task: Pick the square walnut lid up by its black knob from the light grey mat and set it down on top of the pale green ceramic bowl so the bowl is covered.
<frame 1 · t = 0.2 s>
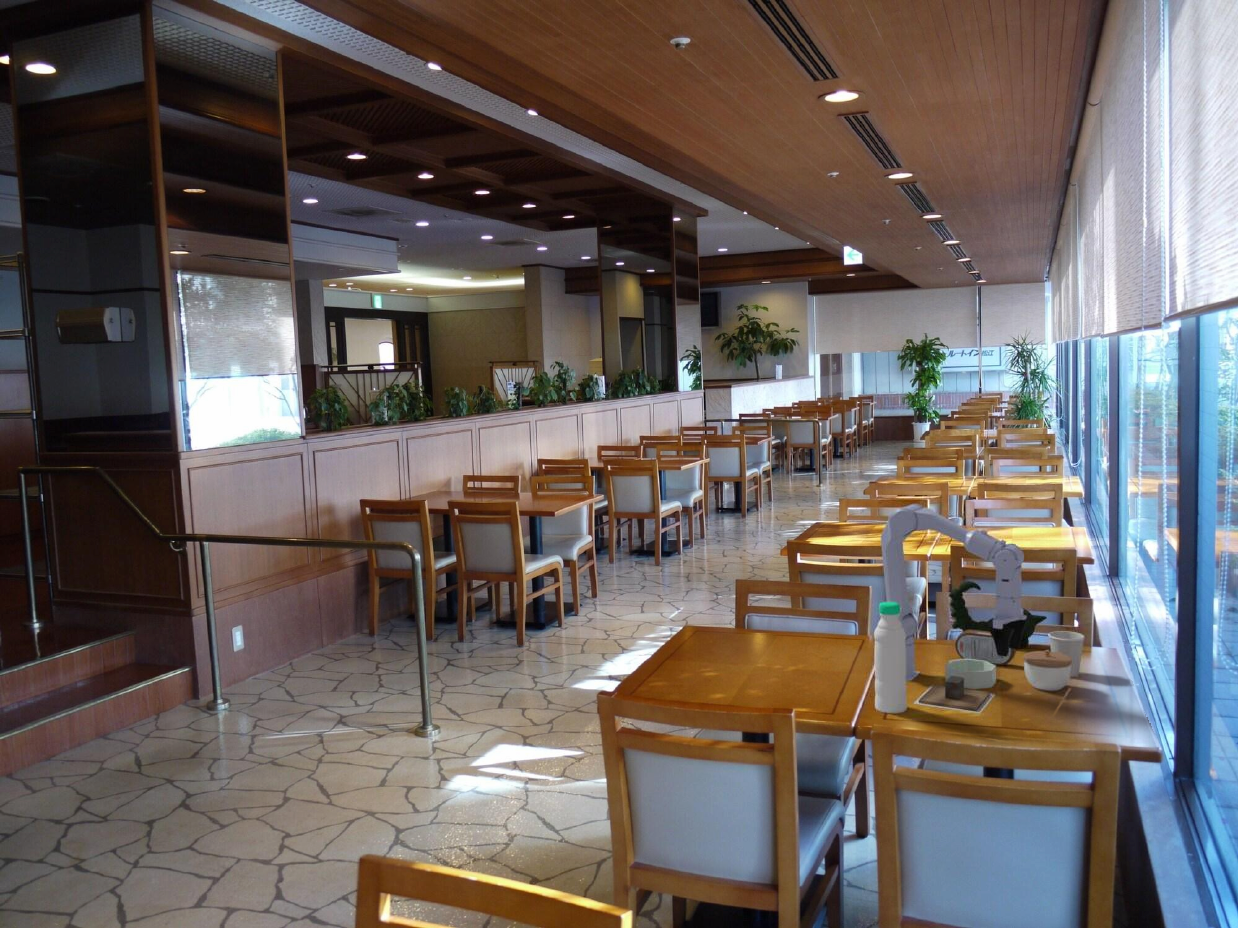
hand: (1008, 651, 235), 10 cm above the table, tool pointing down, fingers open, 7 cm apart
lidded jar: (1047, 689, 238), on the table
tin: (984, 663, 261), on the table
toy figurine: (997, 645, 277), on the table
dixie cup: (1066, 674, 249), on the table
water bottle: (890, 710, 227), on the table
mat: (954, 700, 232), on the table
bowl: (970, 682, 244), on the table
lid: (954, 698, 232), resting on mat
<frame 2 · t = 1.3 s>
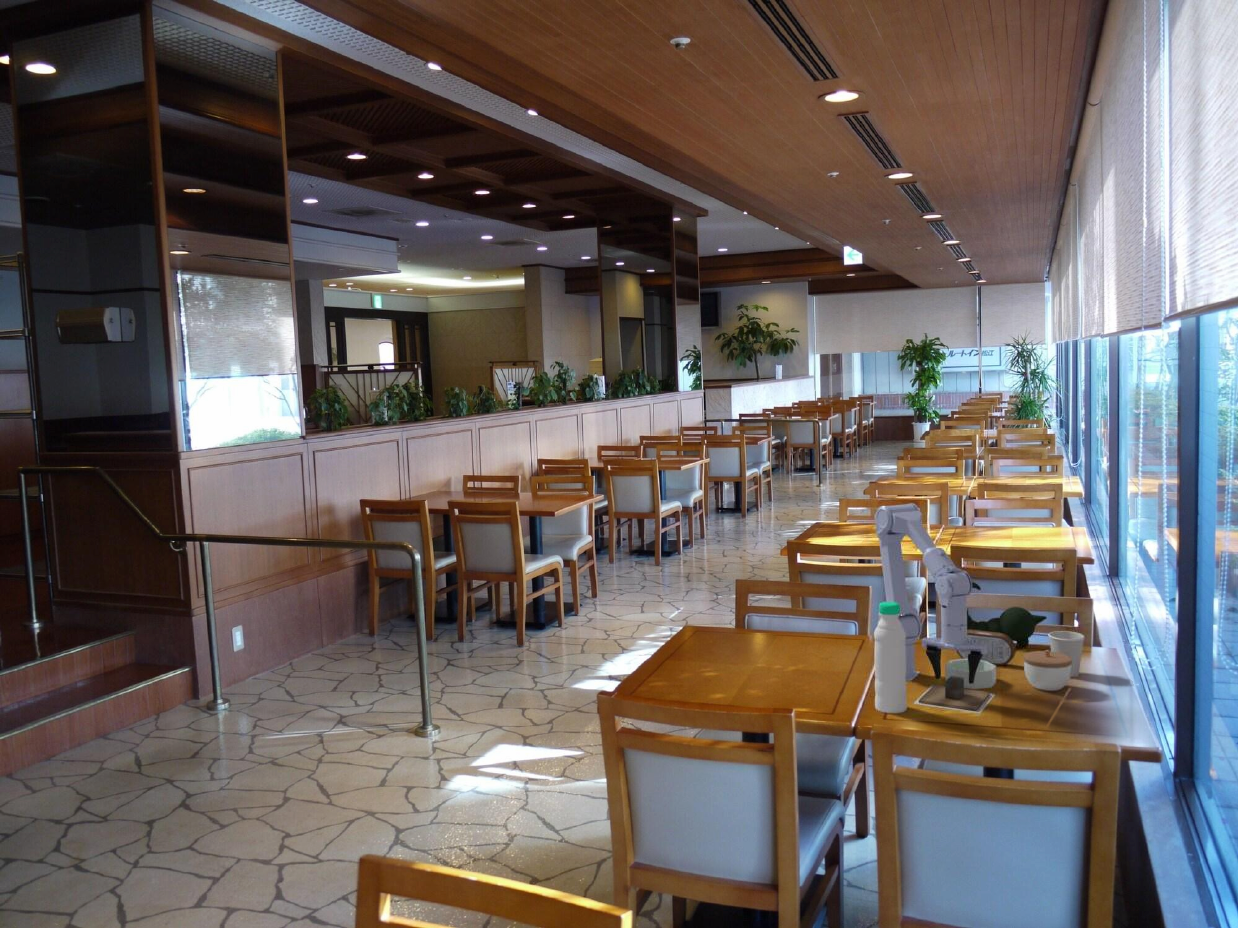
hand: (954, 680, 231), 5 cm above the table, tool pointing down, fingers open, 7 cm apart
nothing on the table moved.
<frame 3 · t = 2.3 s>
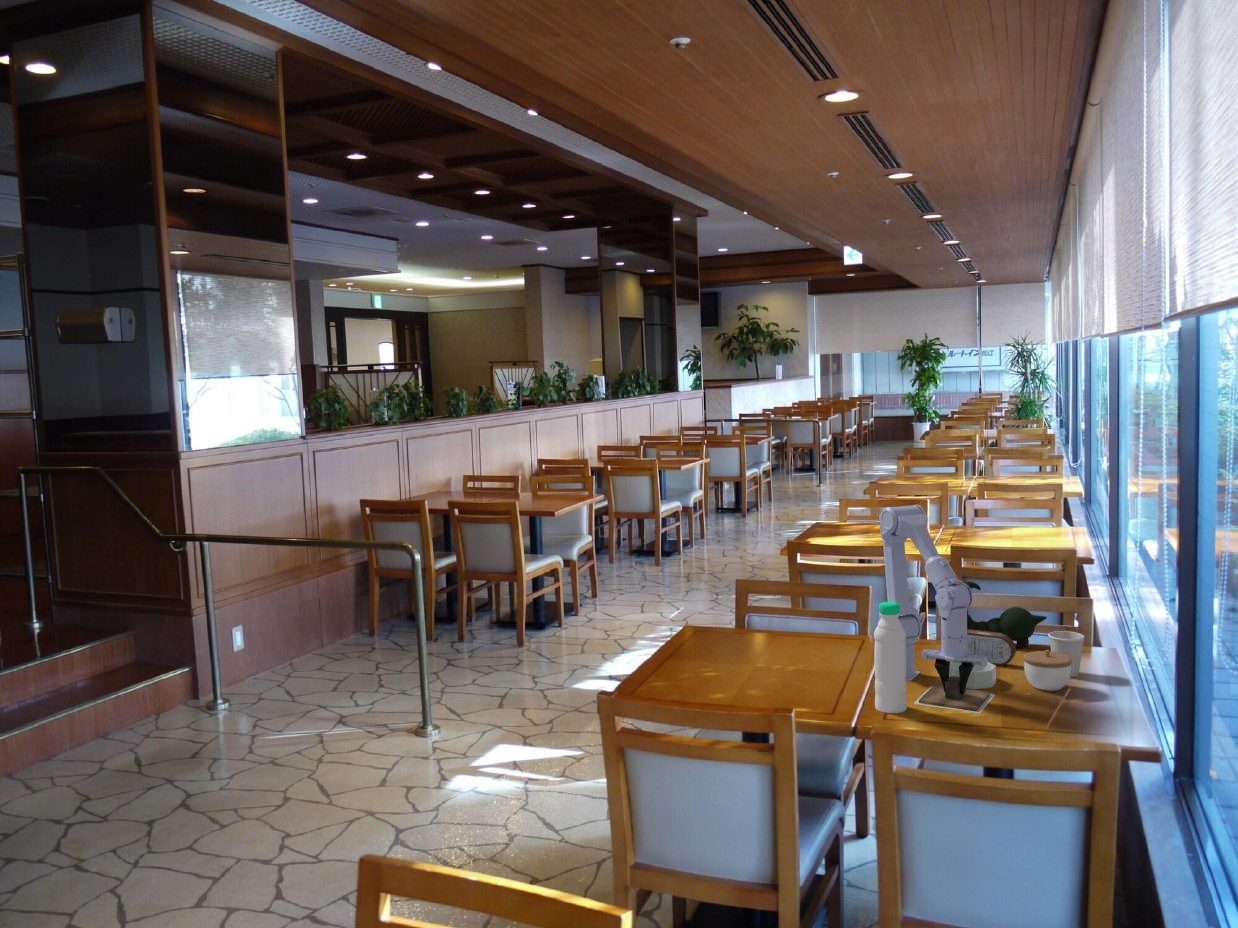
hand: (954, 692, 232), 2 cm above the table, tool pointing down, fingers closed on lid, 3 cm apart
lid: (954, 698, 232), resting on mat, touching gripper
everything else where it was.
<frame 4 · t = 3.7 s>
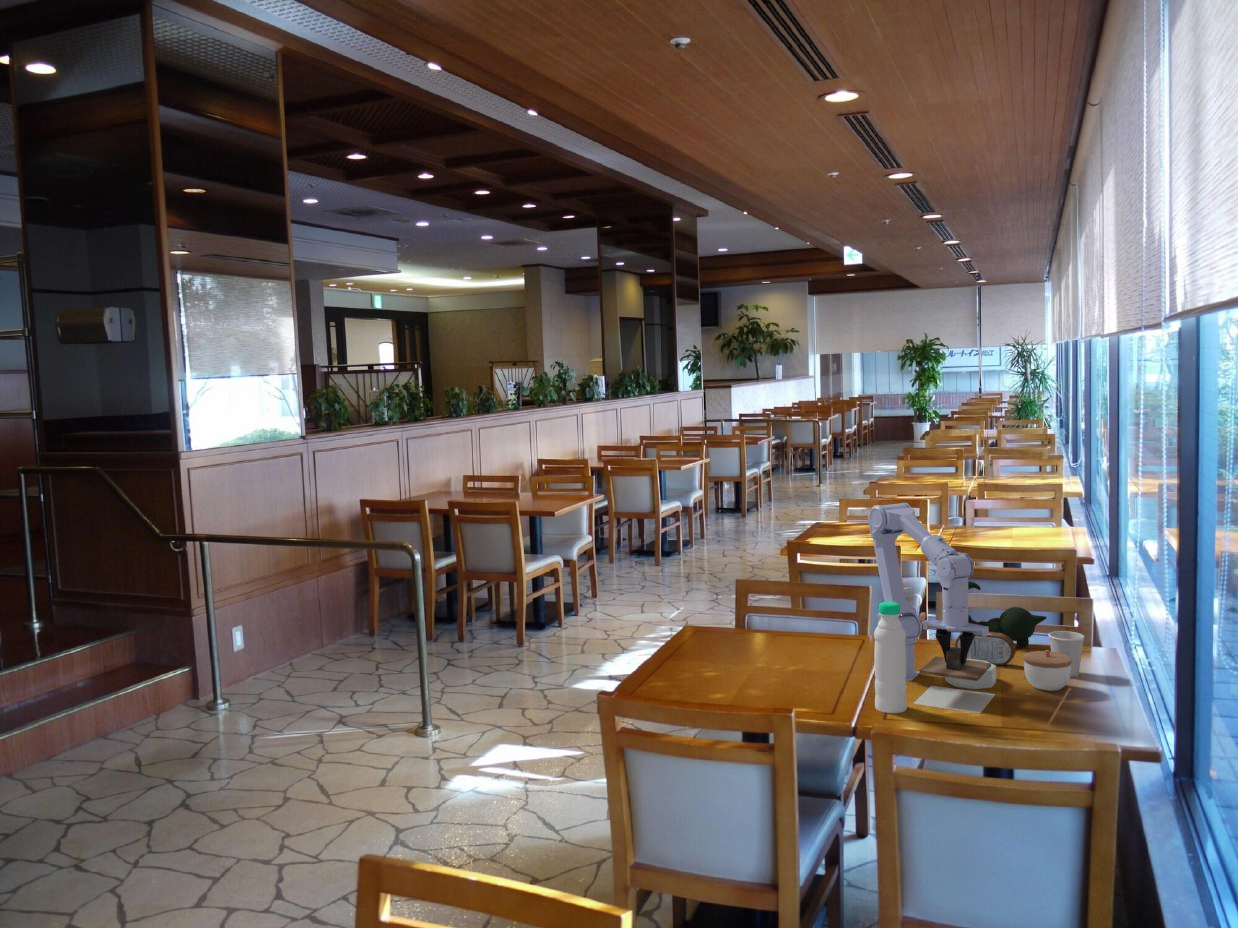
hand: (955, 662, 232), 9 cm above the table, tool pointing down, fingers closed on lid, 3 cm apart
lid: (955, 669, 232), point 7 cm above the table, touching gripper
everything else where it was.
when the fingers open (7 cm above the table, at t = 5.4 s): lid stays where it is, resting on bowl.
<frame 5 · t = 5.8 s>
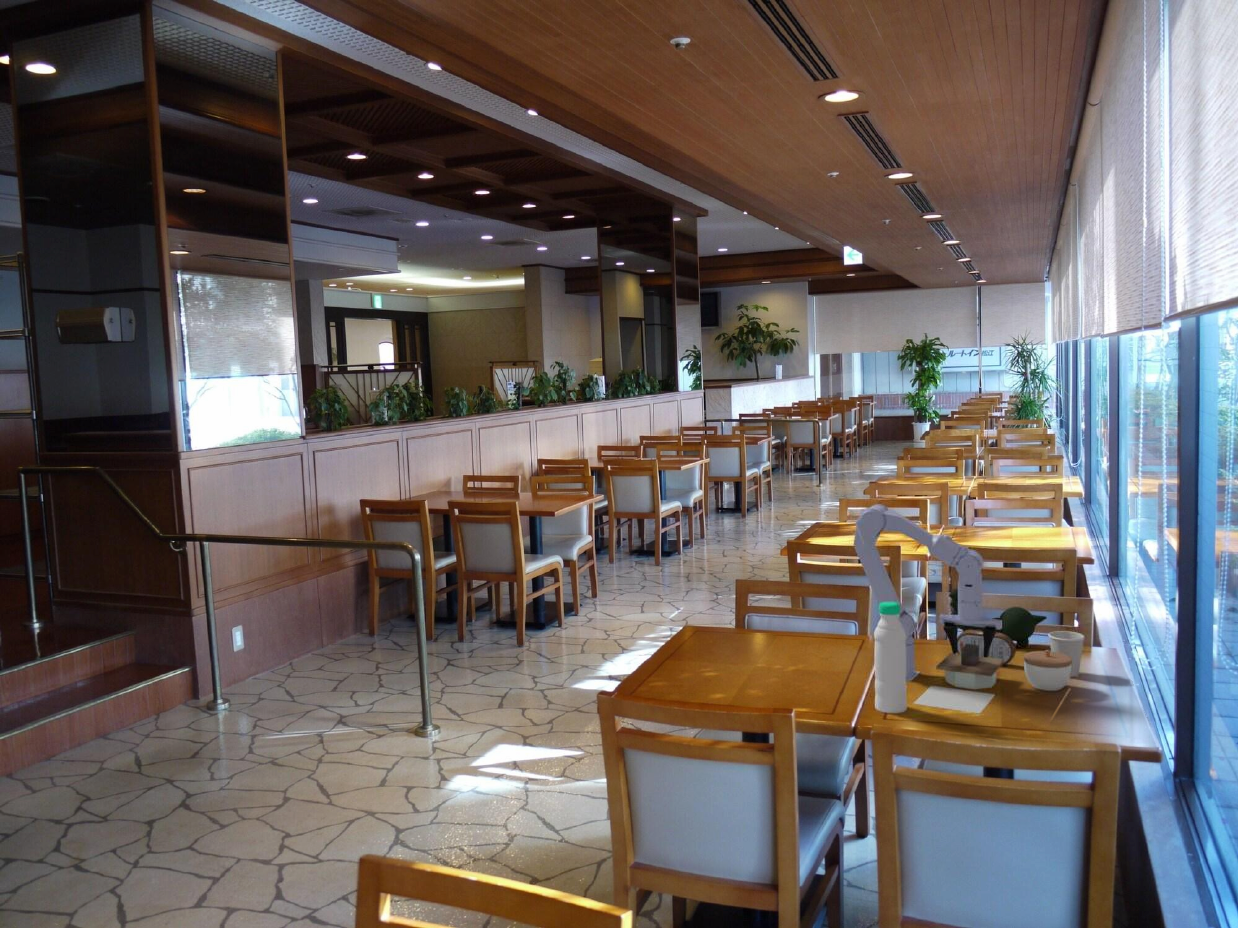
hand: (970, 654, 244), 7 cm above the table, tool pointing down, fingers open, 7 cm apart
bowl: (970, 682, 244), on the table, touching lid
lid: (970, 665, 244), point 4 cm above the table, touching bowl
everything else where it was.
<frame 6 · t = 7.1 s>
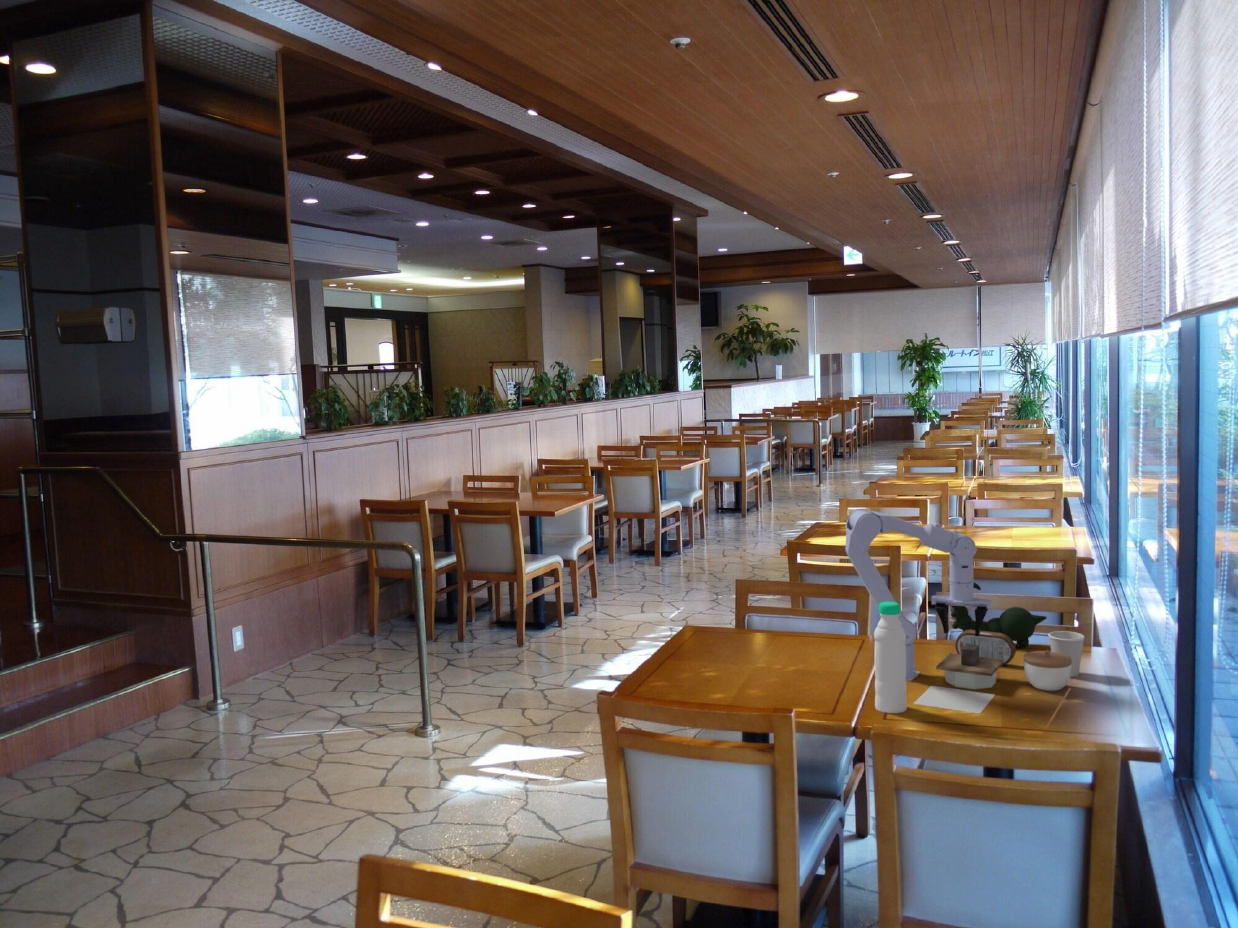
hand: (961, 633, 251), 10 cm above the table, tool pointing down, fingers open, 7 cm apart
nothing on the table moved.
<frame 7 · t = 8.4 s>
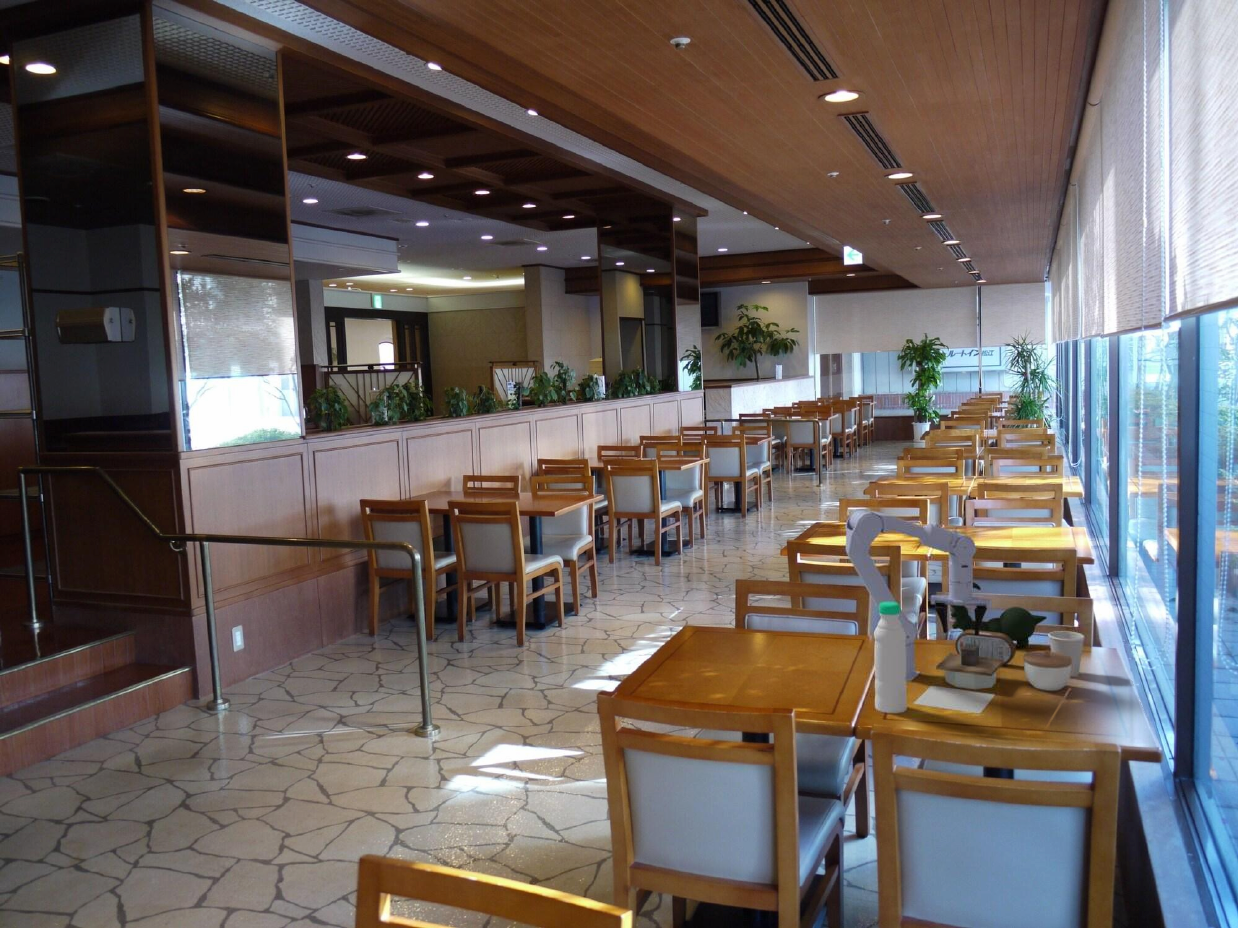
hand: (961, 633, 252), 10 cm above the table, tool pointing down, fingers open, 7 cm apart
nothing on the table moved.
at the end: lid 0.4 cm from the bowl (horizontally); lid point 4.5 cm above the table; lid tilted 0° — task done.
